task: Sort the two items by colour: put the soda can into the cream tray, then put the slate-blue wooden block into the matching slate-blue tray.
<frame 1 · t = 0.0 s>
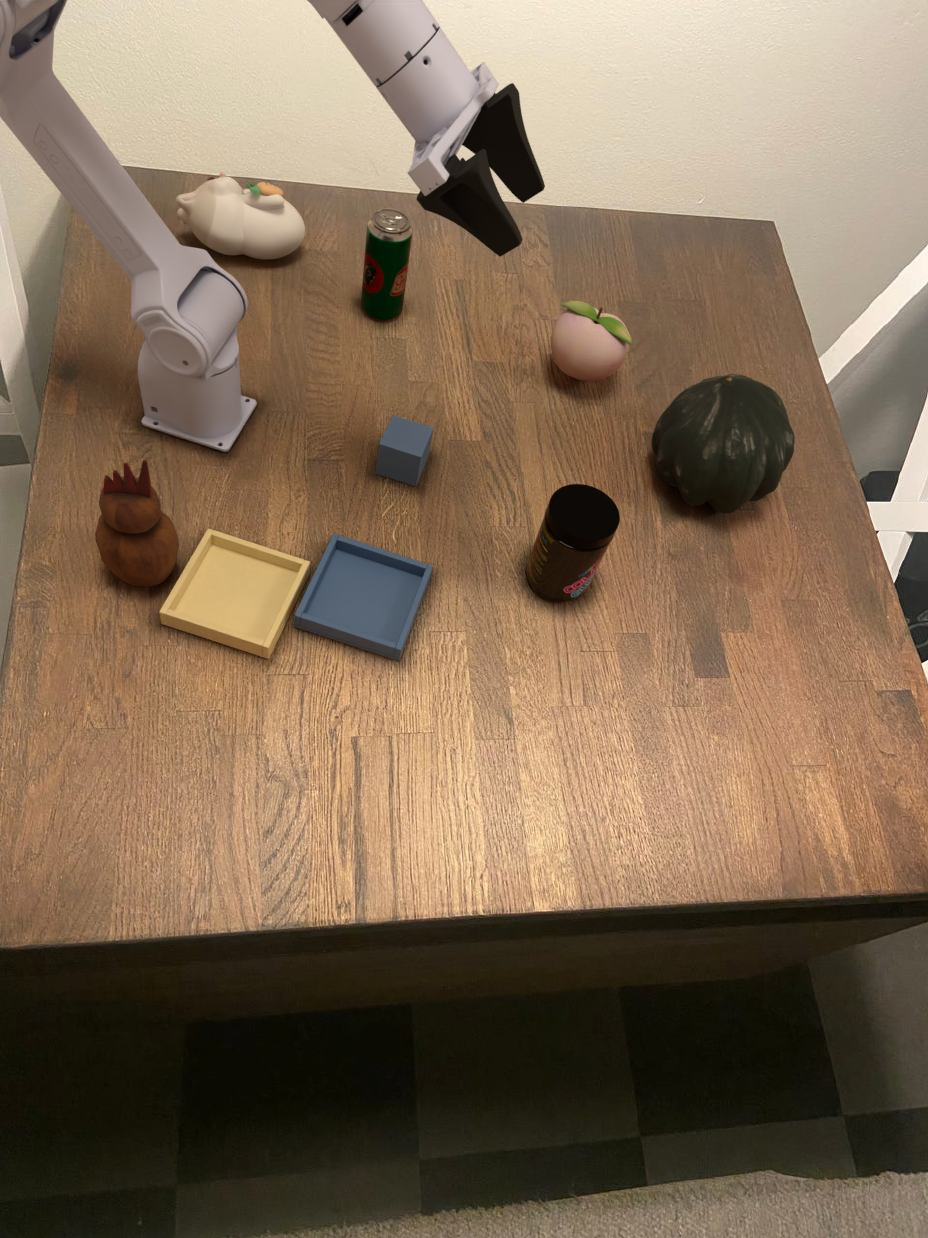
hand: (523, 220, 69), 32 cm above the table, tool tilted 50°, fingers open, 7 cm apart
squash: (702, 480, 104), on the table
blue block: (402, 465, 97), on the table
decorative fruit: (576, 379, 110), on the table
cream tray: (238, 598, 85), on the table
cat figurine: (242, 249, 113), on the table
wooden figurine: (144, 570, 85), on the table
supplement container: (556, 578, 92), on the table
blue tray: (364, 601, 87), on the table
soda can: (381, 310, 111), on the table
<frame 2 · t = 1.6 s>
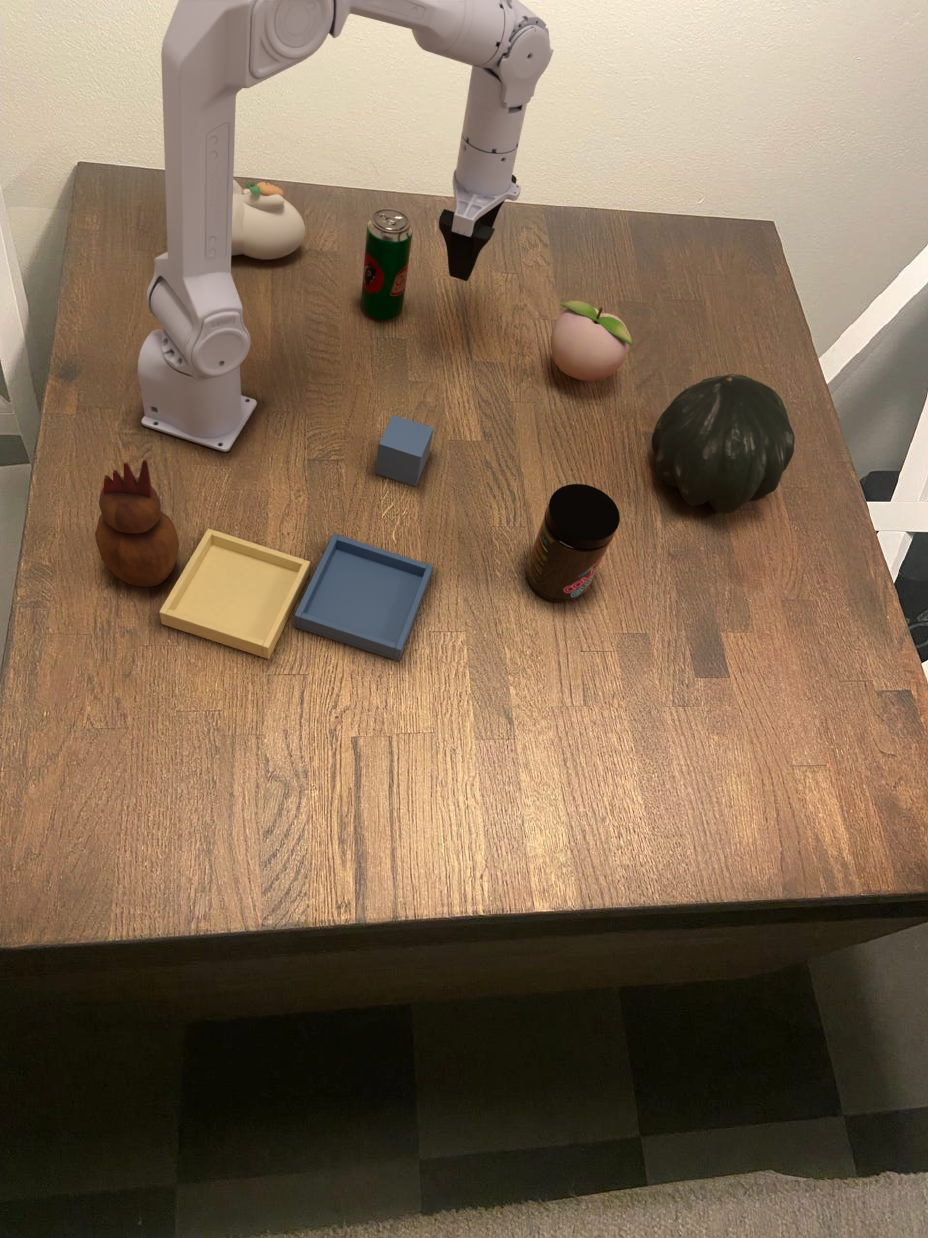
hand: (468, 256, 101), 11 cm above the table, tool pointing down, fingers open, 7 cm apart
nothing on the table moved.
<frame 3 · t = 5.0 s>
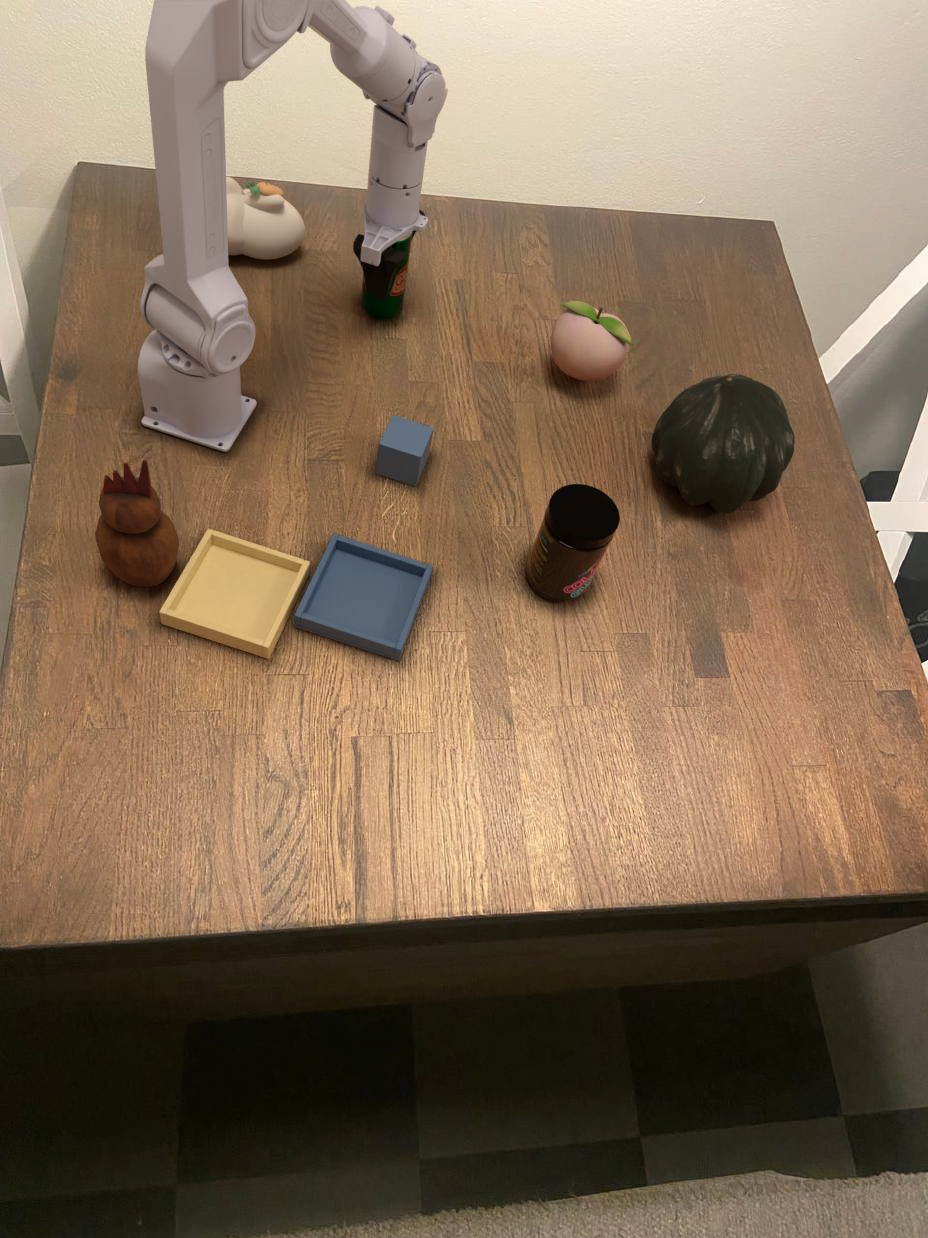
hand: (384, 282, 107), 4 cm above the table, tool pointing down, fingers closed on soda can, 5 cm apart
soda can: (381, 310, 111), on the table, touching gripper
everything else where it was.
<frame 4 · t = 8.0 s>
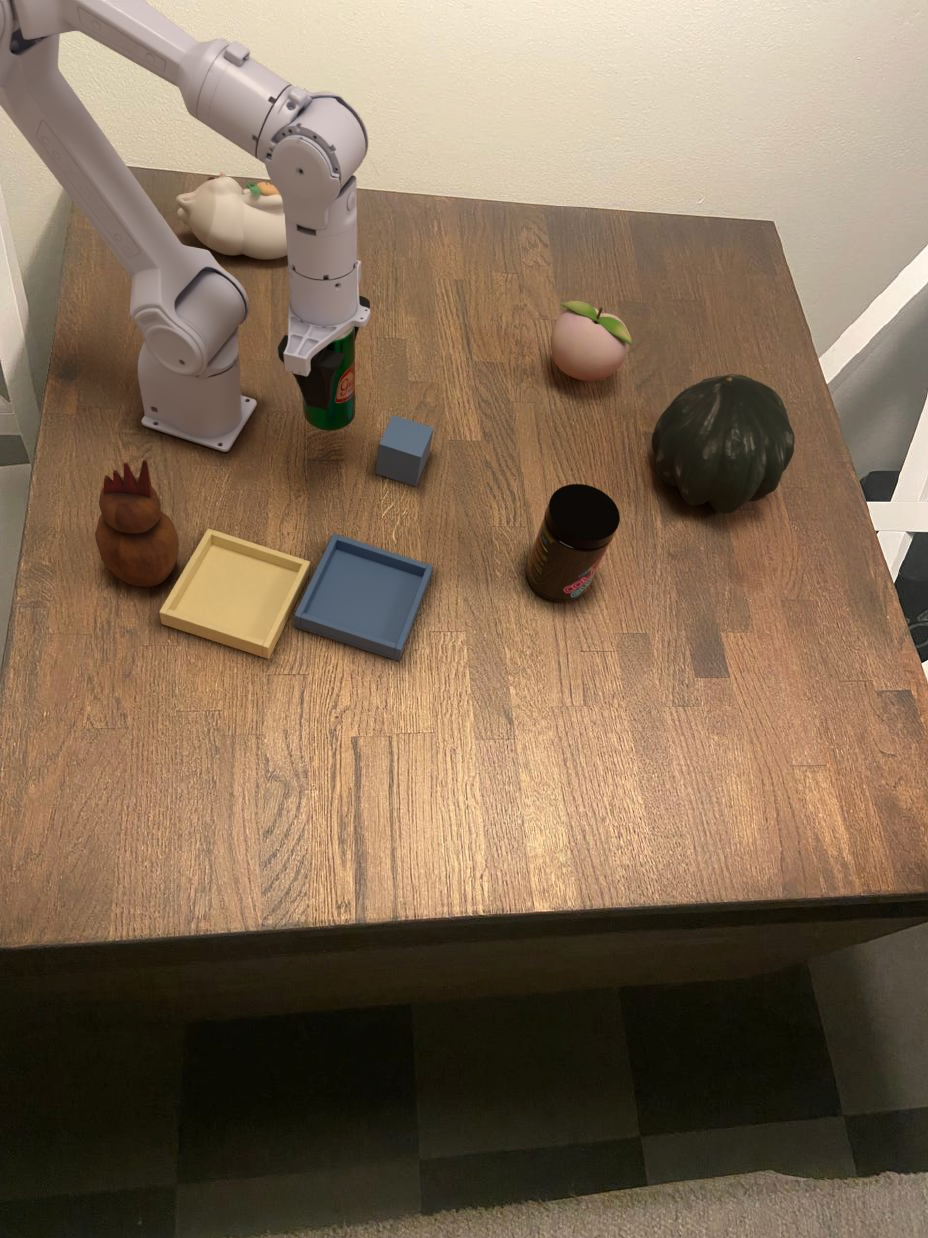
hand: (327, 386, 87), 10 cm above the table, tool pointing down, fingers closed on soda can, 5 cm apart
soda can: (329, 417, 90), point 7 cm above the table, touching gripper
everything else where it was.
when the fingers open (4 cm above the table, at t = 11.4 s): soda can stays where it is, resting on cream tray.
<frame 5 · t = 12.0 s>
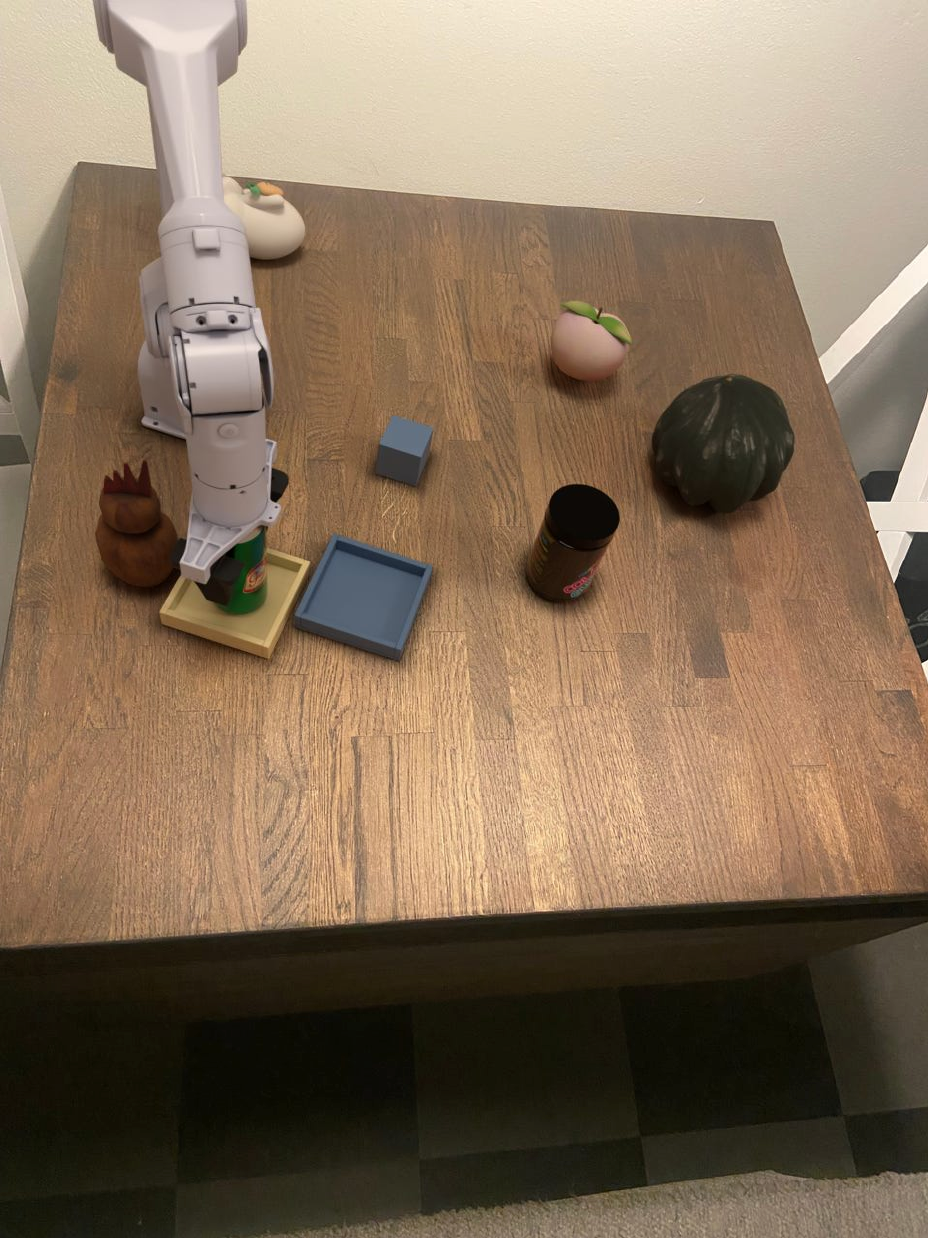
hand: (235, 566, 81), 5 cm above the table, tool pointing down, fingers open, 7 cm apart
soda can: (239, 596, 85), resting on cream tray
everything else where it was.
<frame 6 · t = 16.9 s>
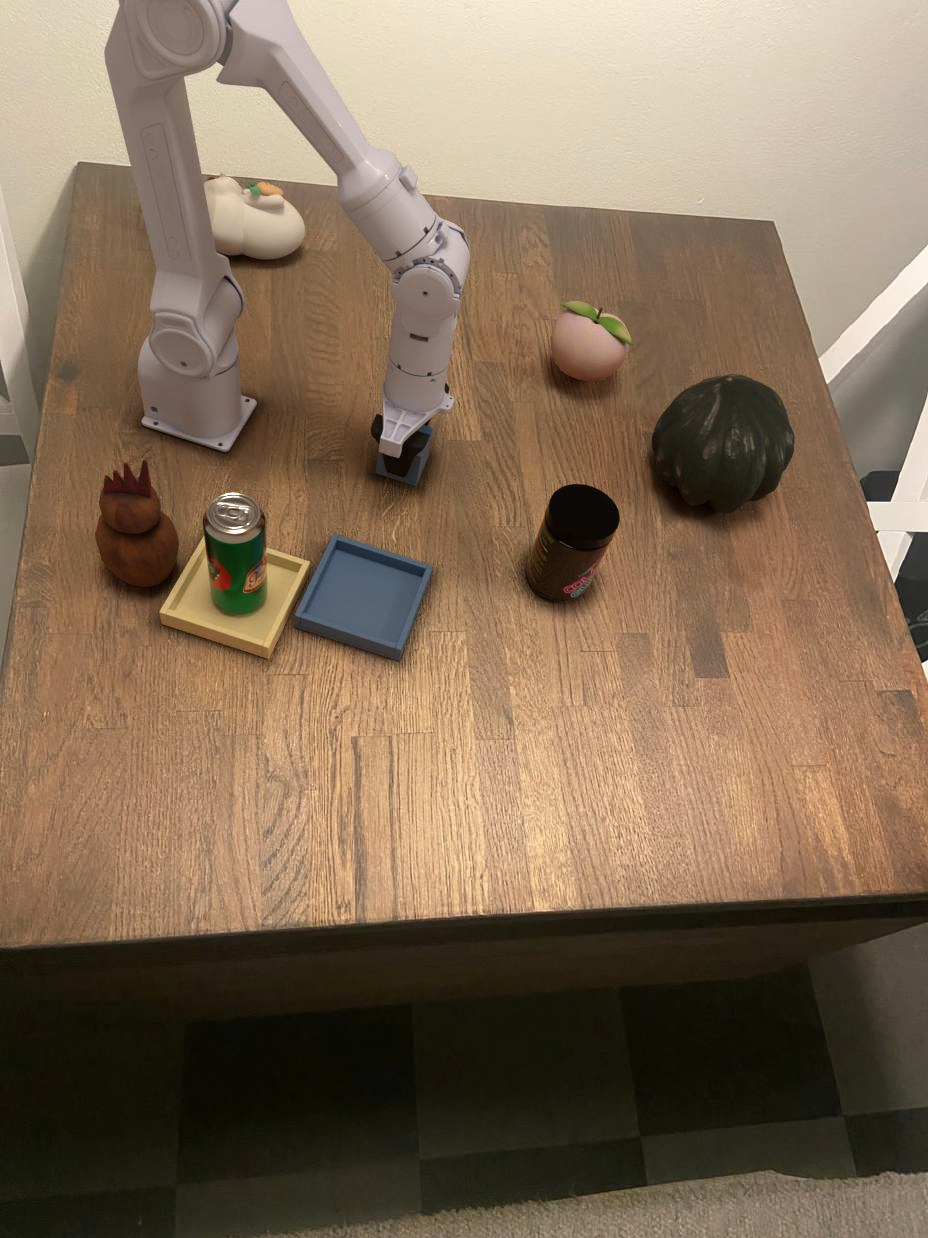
hand: (403, 456, 96), 1 cm above the table, tool pointing down, fingers closed on blue block, 4 cm apart
blue block: (402, 465, 97), on the table, touching gripper
everything else where it was.
when the fingers open (2 cm above the table, at t = 21.4 s): blue block stays where it is, resting on blue tray.
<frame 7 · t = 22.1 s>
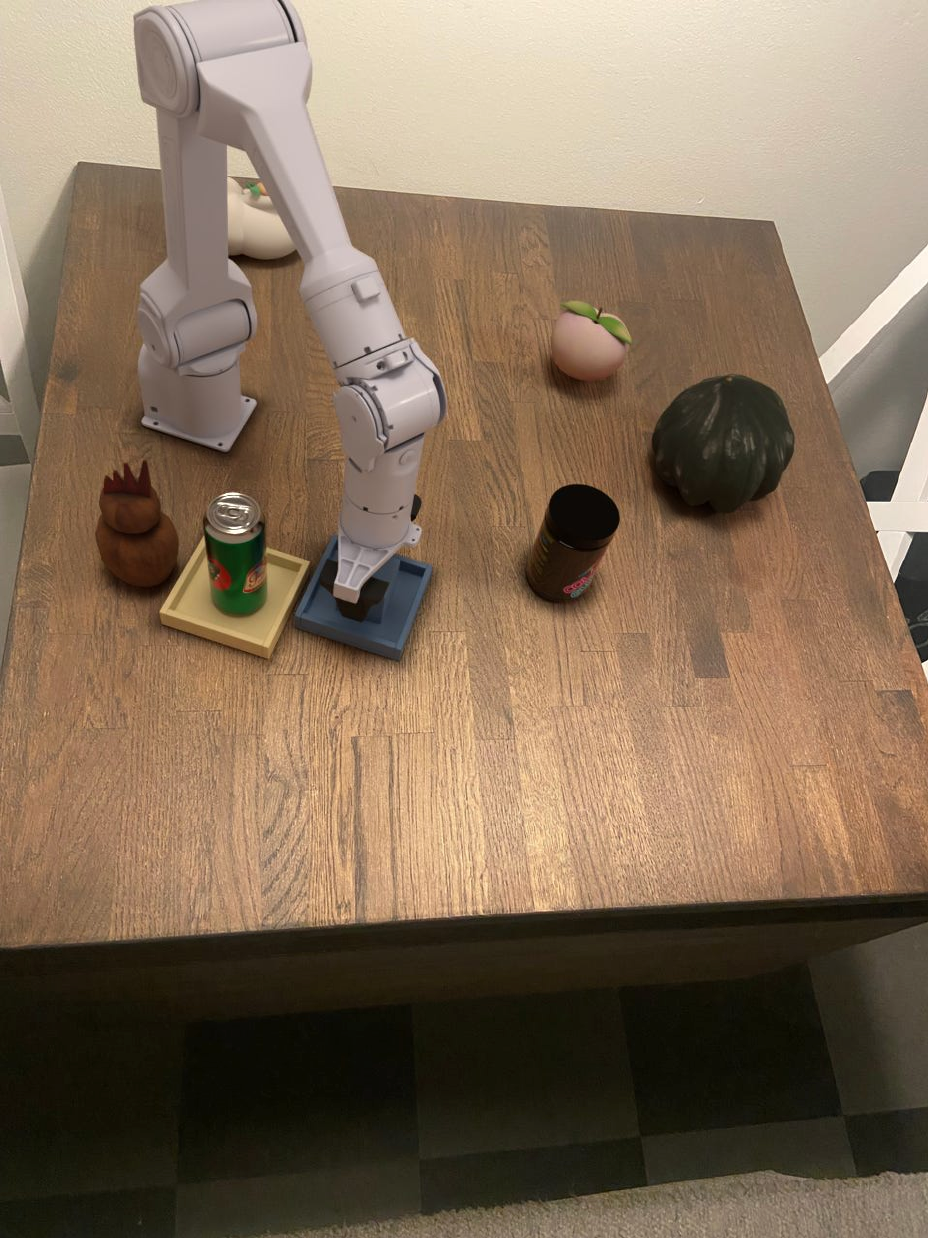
hand: (366, 584, 85), 3 cm above the table, tool pointing down, fingers open, 7 cm apart
blue block: (365, 598, 87), resting on blue tray
everything else where it was.
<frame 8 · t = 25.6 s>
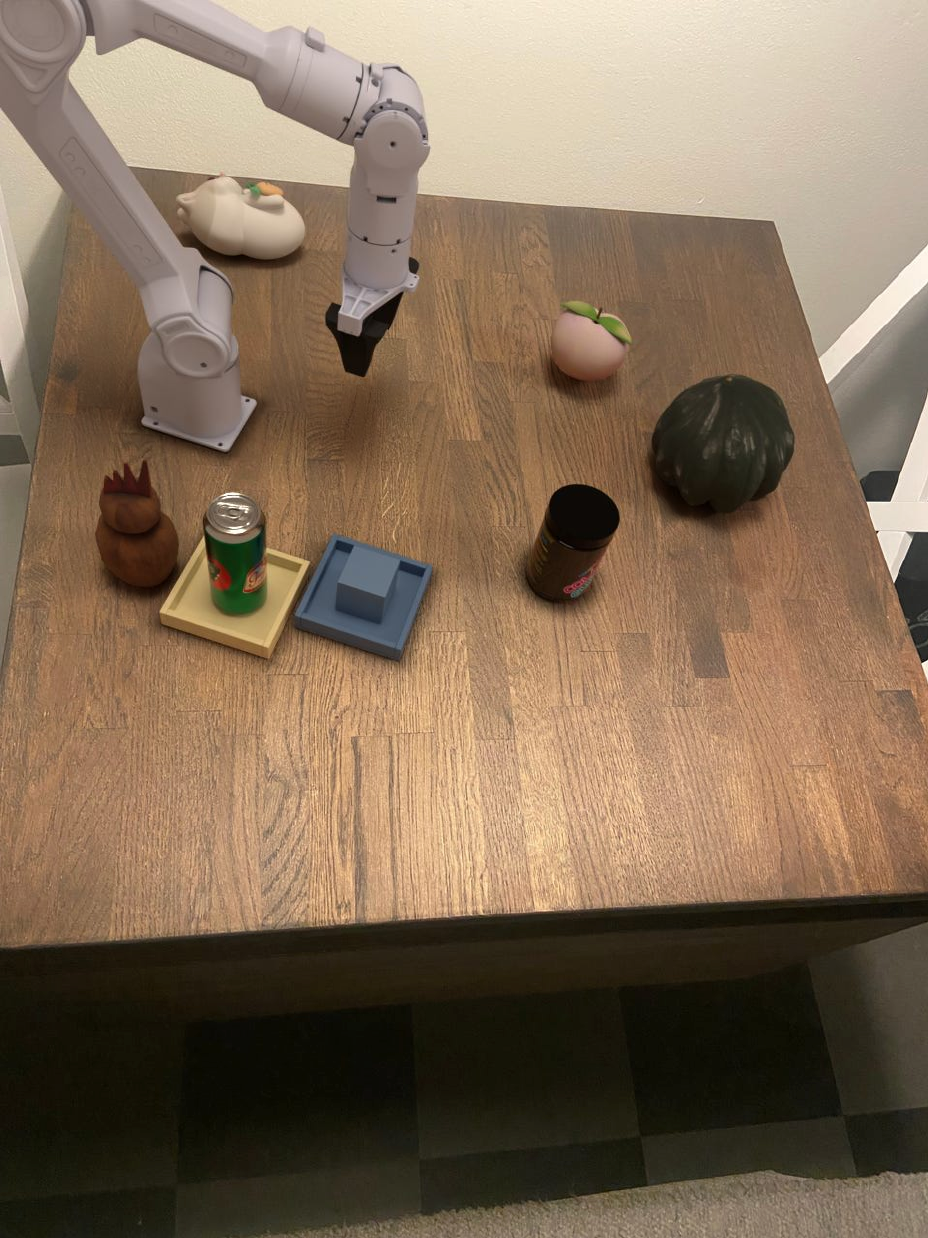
hand: (368, 348, 91), 10 cm above the table, tool pointing down, fingers open, 7 cm apart
nothing on the table moved.
at the end: soda can inside the target area in the cream tray (0.2 cm from its centre), point 0.3 cm above the cream tray's base; blue block inside the target area in the blue tray (0.1 cm from its centre), point 0.5 cm above the blue tray's base; soda can tilted 0° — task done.
